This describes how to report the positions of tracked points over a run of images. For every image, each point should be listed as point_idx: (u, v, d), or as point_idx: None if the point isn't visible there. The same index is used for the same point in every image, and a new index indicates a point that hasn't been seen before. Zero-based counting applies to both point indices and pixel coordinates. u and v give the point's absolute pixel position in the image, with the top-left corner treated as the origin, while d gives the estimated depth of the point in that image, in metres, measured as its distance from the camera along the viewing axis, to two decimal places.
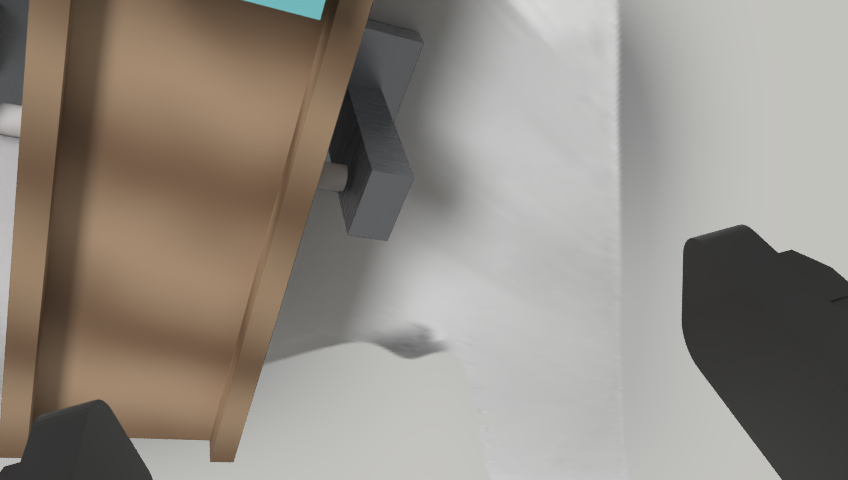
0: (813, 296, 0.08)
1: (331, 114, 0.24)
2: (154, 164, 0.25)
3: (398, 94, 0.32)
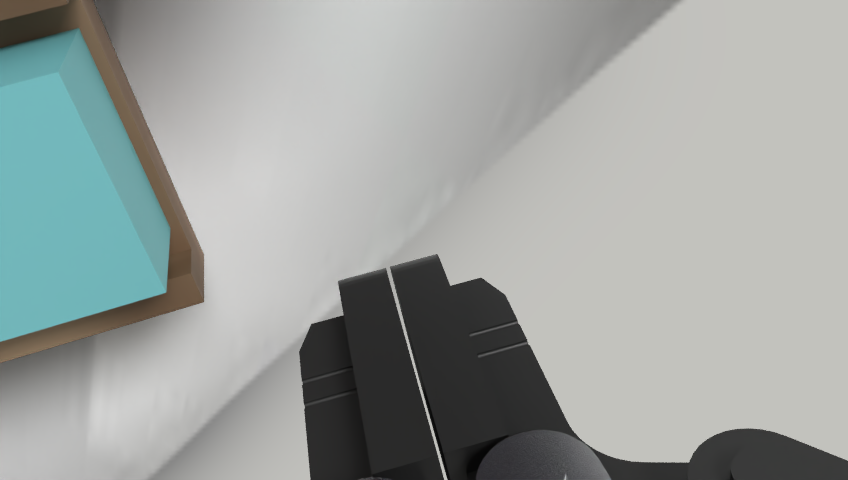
0: (456, 324, 0.09)
1: None
2: None
3: None
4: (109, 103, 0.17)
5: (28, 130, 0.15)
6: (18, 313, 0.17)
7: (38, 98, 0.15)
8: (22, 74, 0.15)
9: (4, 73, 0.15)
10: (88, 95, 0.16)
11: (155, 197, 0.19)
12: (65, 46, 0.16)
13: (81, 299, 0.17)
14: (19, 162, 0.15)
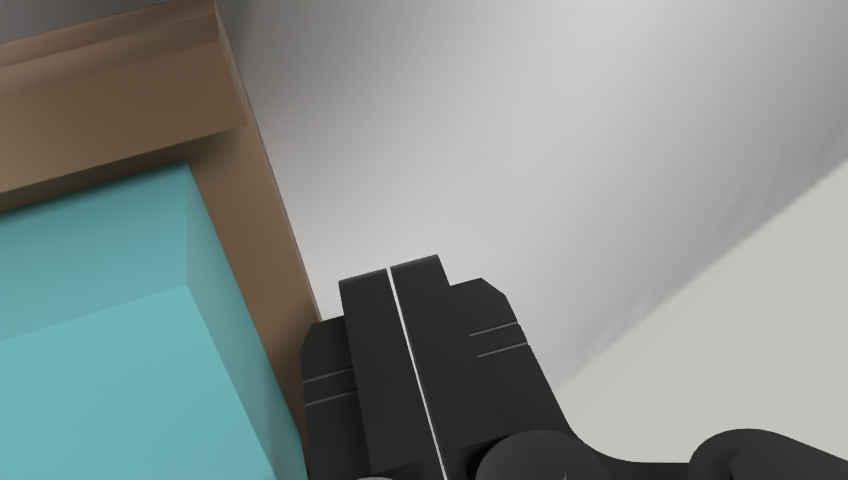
0: (456, 324, 0.09)
1: None
2: None
3: None
4: (230, 276, 0.10)
5: (121, 385, 0.08)
6: None
7: (145, 331, 0.08)
8: (112, 281, 0.08)
9: (74, 274, 0.08)
10: (216, 289, 0.09)
11: (284, 400, 0.12)
12: (176, 206, 0.09)
13: None
14: (101, 436, 0.08)
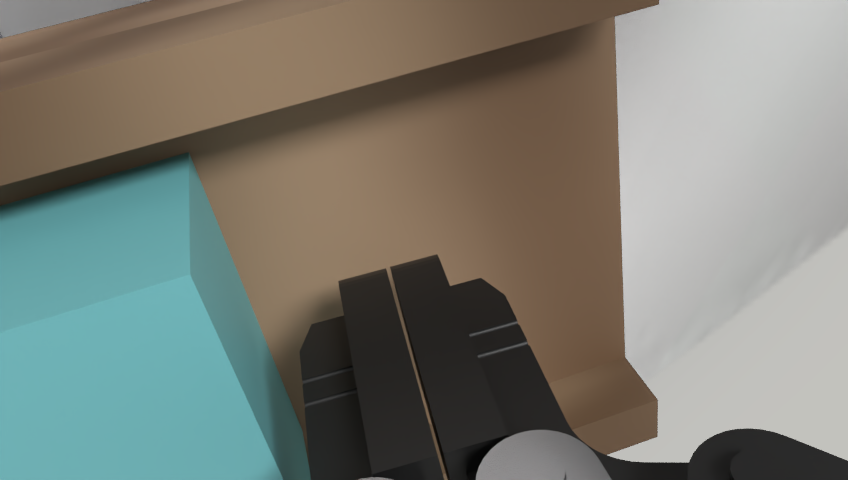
0: (456, 324, 0.09)
1: None
2: None
3: None
4: (232, 269, 0.11)
5: (125, 374, 0.08)
6: None
7: (148, 322, 0.08)
8: (116, 271, 0.08)
9: (78, 264, 0.08)
10: (219, 280, 0.09)
11: (286, 393, 0.12)
12: (179, 198, 0.09)
13: None
14: (105, 425, 0.08)
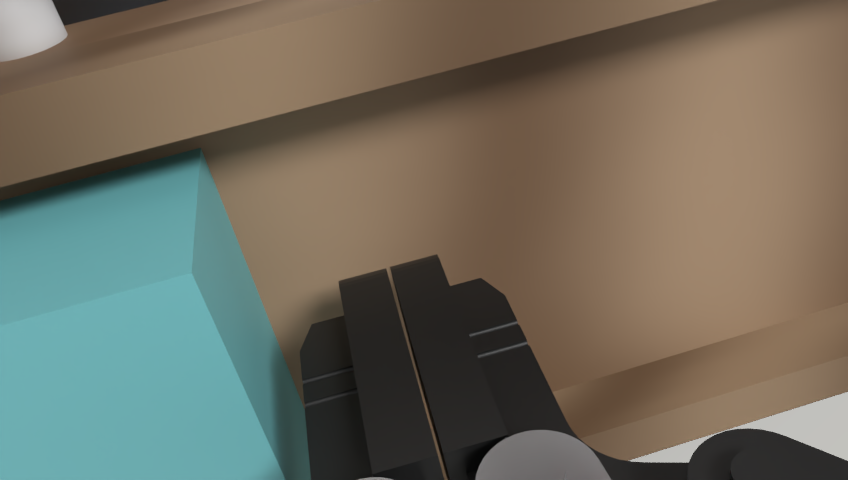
0: (456, 324, 0.09)
1: None
2: None
3: None
4: (242, 265, 0.11)
5: (128, 370, 0.08)
6: None
7: (150, 317, 0.08)
8: (119, 267, 0.08)
9: (84, 258, 0.08)
10: (225, 277, 0.09)
11: (295, 389, 0.12)
12: (188, 194, 0.09)
13: None
14: (107, 418, 0.08)
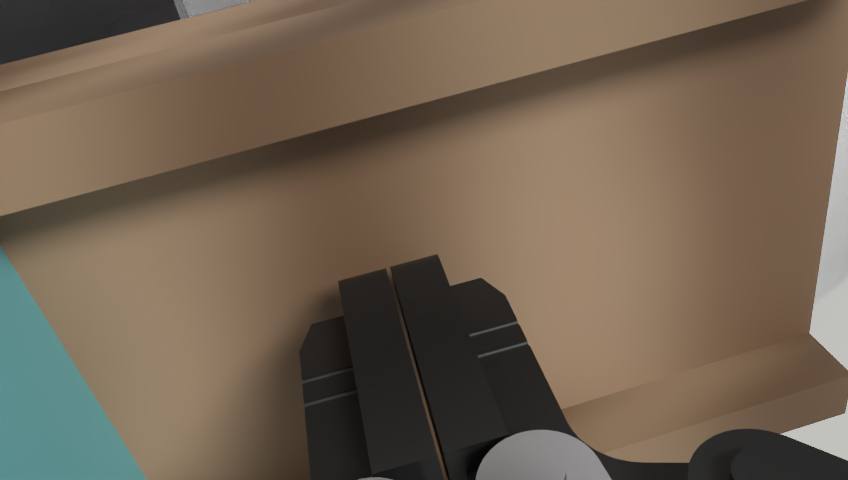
0: (456, 324, 0.09)
1: None
2: None
3: None
4: (47, 344, 0.10)
5: None
6: None
7: None
8: None
9: None
10: None
11: (131, 460, 0.12)
12: None
13: None
14: None
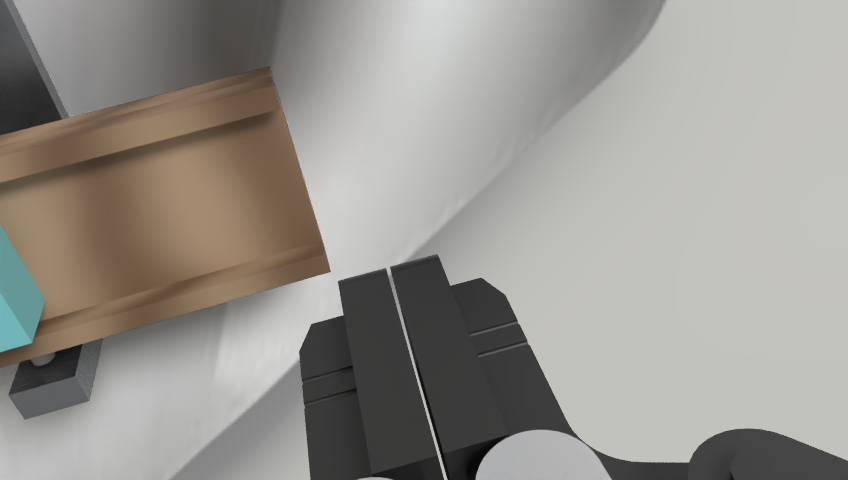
0: (456, 324, 0.09)
1: (93, 336, 0.33)
2: None
3: None
4: (0, 232, 0.30)
5: None
6: None
7: None
8: None
9: None
10: None
11: (33, 283, 0.32)
12: None
13: None
14: None
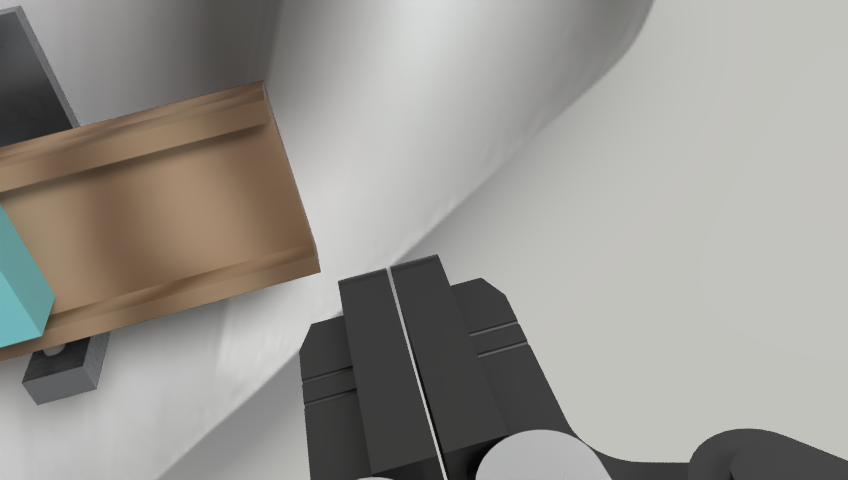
0: (457, 324, 0.09)
1: (99, 329, 0.35)
2: None
3: None
4: (13, 233, 0.33)
5: None
6: None
7: None
8: None
9: None
10: None
11: (44, 280, 0.34)
12: None
13: None
14: None
